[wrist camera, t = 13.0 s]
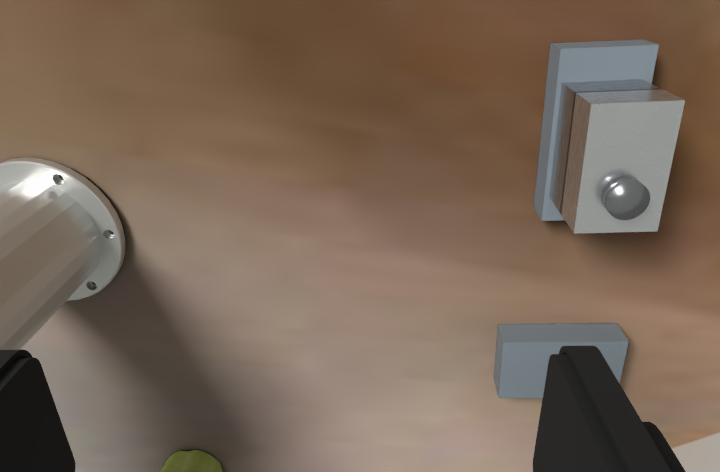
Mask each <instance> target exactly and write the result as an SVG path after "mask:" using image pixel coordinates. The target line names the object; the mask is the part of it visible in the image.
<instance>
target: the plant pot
mask: <svg viewBox="0 0 720 472" xmlns="http://www.w3.org/2000/svg"><path fill="white" fill-rule="evenodd" d="M160 472H223V471H222V468H221V464H220V463H219V461H218V460H217V459H216V458H214V457H213V456H211V455H210V454H208V453H205V452H203V451H199V450H192V451H178V452H175V453H174V454H172V455H171V456H170V457H169V458H168V459H167V461H166V463H165V464H164V466H163V467H162V469H161V470H160Z"/></svg>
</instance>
